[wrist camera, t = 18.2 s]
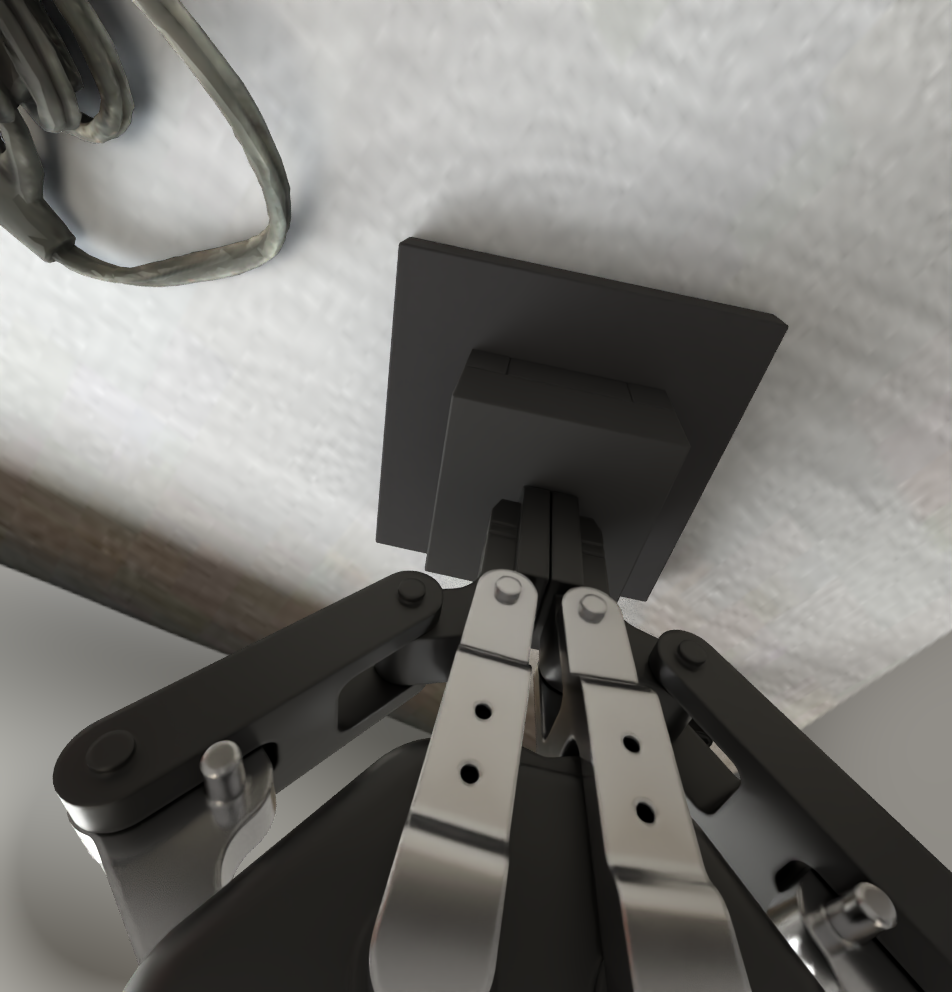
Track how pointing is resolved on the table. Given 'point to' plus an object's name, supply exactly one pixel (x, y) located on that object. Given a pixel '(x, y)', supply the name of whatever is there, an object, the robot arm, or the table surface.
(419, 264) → the base pad
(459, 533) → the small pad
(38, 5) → the hair dryer
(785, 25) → the table surface
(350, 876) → the robot arm
